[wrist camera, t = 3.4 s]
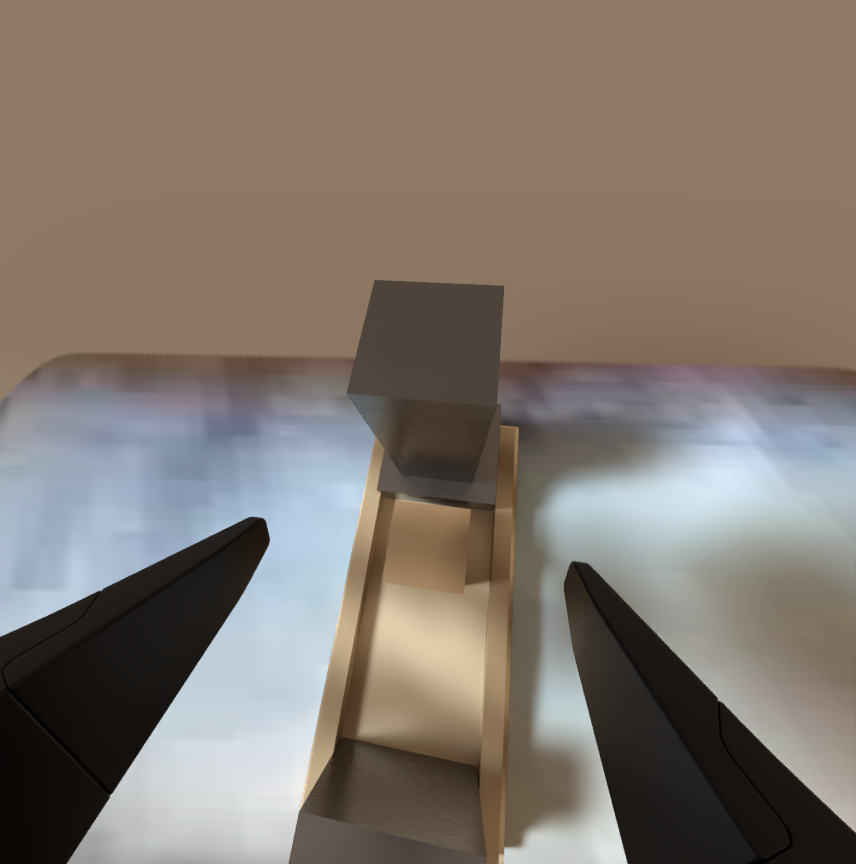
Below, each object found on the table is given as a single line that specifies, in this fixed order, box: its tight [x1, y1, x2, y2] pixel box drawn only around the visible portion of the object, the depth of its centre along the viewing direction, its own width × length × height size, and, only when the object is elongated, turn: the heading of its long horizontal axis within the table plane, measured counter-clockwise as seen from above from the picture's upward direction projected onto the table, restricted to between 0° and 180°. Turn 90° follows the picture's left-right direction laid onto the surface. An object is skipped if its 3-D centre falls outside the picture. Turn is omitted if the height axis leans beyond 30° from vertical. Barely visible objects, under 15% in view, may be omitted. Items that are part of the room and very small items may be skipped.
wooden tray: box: [299, 425, 519, 864], centre depth 19 cm, size 22×10×2 cm, turn 173°
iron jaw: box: [289, 737, 487, 864], centre depth 13 cm, size 3×7×5 cm, turn 83°
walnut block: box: [382, 500, 471, 595], centre depth 18 cm, size 4×4×4 cm
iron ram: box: [347, 280, 504, 511], centre depth 15 cm, size 6×7×13 cm
